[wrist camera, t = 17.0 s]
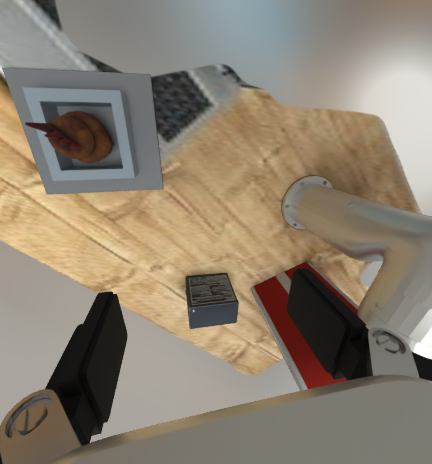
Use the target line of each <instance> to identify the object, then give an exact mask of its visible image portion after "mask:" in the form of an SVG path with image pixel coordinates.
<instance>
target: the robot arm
mask: <svg viewBox="0 0 432 464" xmlns="http://www.w3.org/2000/svg"><path fill="white" fill-rule="evenodd" d="M300 183H301V184H300ZM282 214H283V217H284V219H285V221H286V222H287V223H288V224H289V225H290V226H292V227H293V228H296V229H300V230H305V229H308V230H310V231H311V232H313V233H314V234H316V235H317V236H319V237H320V238H321V239H323V240H324V241H326V242H327V243H329V244H330V245H332V246H333V247H335V248H336V249H338V250H339V251H341V252H342V253H344V254H345V255H347V256H349V257H350V258H353V259H355V260H359V261H367V262H373V261H383V263H382V266H381V268H380V270H379V271H378V274H377V276H376V278H375V279H374V281H373V282H372V284H371V286H370V287H369V289H368V291H367V292H366V294H365V296H364V298H363V299H362V301H361V303H360V305H359V308H358V316H357V315H356V314H355V313H354V312H353V311H352V310H351V309H350V308H349V307H348V306H347V305H346V304H345V303H344V302H343V301H342V300H341V299H340V298H339V297H337V296H336V295H335V294H334V293H333V292H332V291H331V290H330V289H329V288H328V287H327V286H326V285H325V284H324V283H323V282H322V281H321V280H320V279H319V278H318V277H317V276H316V275H315V274H314V273H313V272H312V271H310V270H309V269H308V268H299V269H296V270H295V272H293V275H292V280H291V286H290V291H289V297H288V302H287V313H288V315H289V316H290V318H291V319H292V321H293V322H294V324H295V326H296V327H297V329H298V330H299V332H300V333H301V335H302V336H303V338H304V339H305V341H306V342H307V344H308V345H309V347H310V348H311V350H312V352H313V353H314V355H315V356H316V358H317V359H318V361H319V362H320V364H321V365H322V367H323V368H324V370H325V371H326V372H327V373H330V375H331V376H332V378H333V379H334V380H337V379H342V378H346V379H347V381H343V382H338V383H334V384H329V385H325V386H320V387H316V388H311V389H307V390H303V391H298V392H294V393H289V394H285V395H280V396H276V397H272V398H267V399H263V400H259V401H254V402H250V403H246V404H241V405H237V406H233V407H228V408H224V409H220V410H216V411H211V412H207V413H203V414H199V415H195V416H190V417H186V418H182V419H178V420H174V421H169V422H165V423H161V424H157V425H153V426H149V427H145V428H142V429H137V430H133V431H129V432H126V433H122V434H118V435H114V436H111V437H108V438H104V439H102V440H98V441H95V442H91V443H90V439H91V436H92V435H96V434H101V431H102V427H103V423H105V422H107V421H108V419H109V416H110V412H111V408H112V403H113V399H114V394H115V389H116V386H117V381H118V377H119V373H120V368H121V364H122V360H123V355H124V351H125V347H126V342H127V330H126V326H125V323H124V319H123V315H122V311H121V308H120V304H119V300H118V296H117V294H113V292H102V293H98V295H97V297H96V299H95V301H94V303H93V305H92V307H91V309H90V311H89V313H88V315H87V317H86V319H85V321H84V323H83V324H80V325H79V326H77V328H76V329H75V331H74V333H73V335H72V337H71V339H70V341H69V343H68V345H67V347H66V349H65V351H64V353H63V355H62V357H61V359H60V361H59V363H58V364H57V367H56V369H55V370H54V372H53V375H52V376H51V378H50V380H49V382H48V384H47V386H46V388H45V390H39V391H37V392H34V393H32V394H30V395H28V396H27V397H25V398H24V399H22V400H21V401H20V402H19V403H17V404H16V405H15V406H14V407H13V408H12V409H11V410H10V411H9V412H8V414H7V415H6V417H5V418H4V420H3V421H2V423H1V425H0V464H432V216H427V215H423V214H418V213H413V212H409V211H405V210H401V209H398V208H394V207H391V206H387V205H384V204H381V203H378V202H374V201H371V200H368V199H365V198H361V197H358V196H355V195H352V194H349V193H345V192H342V191H339V190H336V189H333V186H332V185H331V183H330V182H329V181H328V180H327V179H325V178H323V177H320V176H307V177H304V178H302V179H300V180H298V181H297V182H295V183H294V184H293V185H292V186H291V187H290V188H289V190H288V191H287V193H286V195H285V197H284V199H283V203H282Z"/></svg>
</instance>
